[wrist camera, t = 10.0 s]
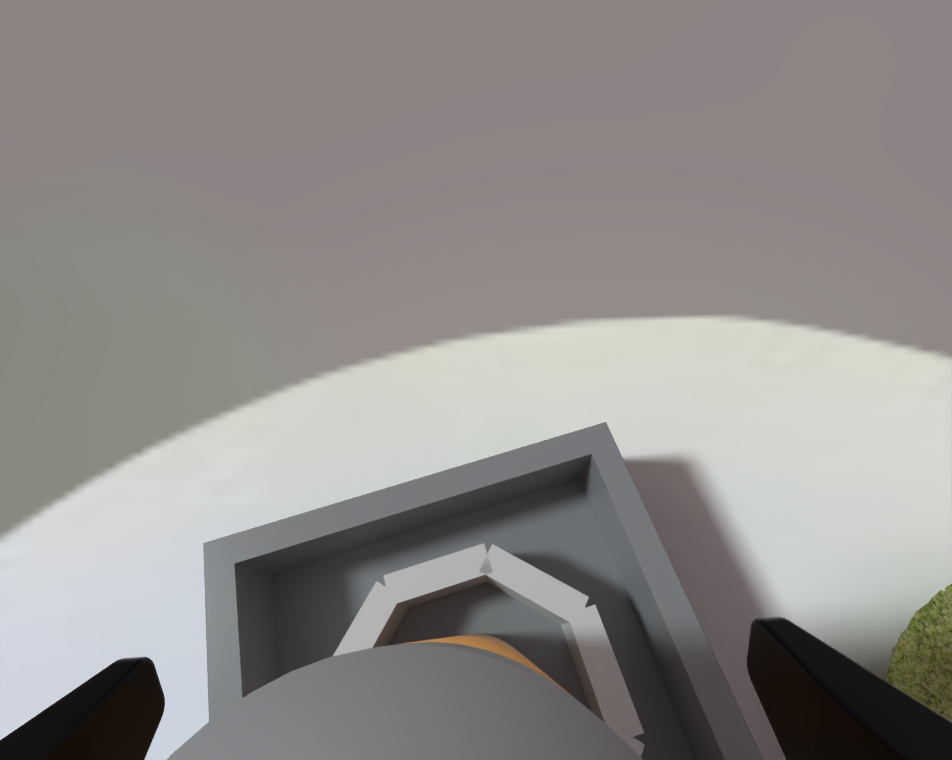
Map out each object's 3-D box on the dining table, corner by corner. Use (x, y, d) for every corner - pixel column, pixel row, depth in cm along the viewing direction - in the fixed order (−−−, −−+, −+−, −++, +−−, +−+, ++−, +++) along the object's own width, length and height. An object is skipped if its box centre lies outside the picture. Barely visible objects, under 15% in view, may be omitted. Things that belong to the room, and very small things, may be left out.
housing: (772, 893, 12) (864, 977, 9) (301, 1094, 11) (226, 1268, 8) (587, 459, 18) (605, 422, 15) (257, 561, 17) (203, 543, 14)
